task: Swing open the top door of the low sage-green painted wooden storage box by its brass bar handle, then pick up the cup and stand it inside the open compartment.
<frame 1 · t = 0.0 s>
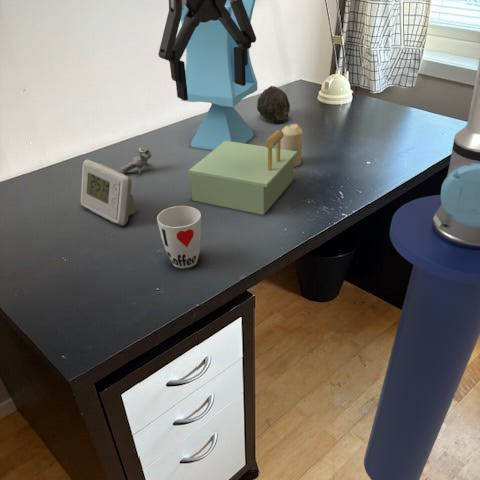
hand: (212, 91, 94), 25 cm above the dresser, tool pointing down, fingers open, 13 cm apart
chest: (243, 190, 117), on the dresser
planter: (222, 142, 141), on the dresser
rock: (274, 119, 154), on the dresser
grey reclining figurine: (140, 173, 126), on the dresser
cup: (185, 261, 95), on the dresser
digital clock: (110, 214, 110), on the dresser
candle: (290, 163, 128), on the dresser
lid: (244, 147, 109), point 11 cm above the dresser, hinge at 0.0°
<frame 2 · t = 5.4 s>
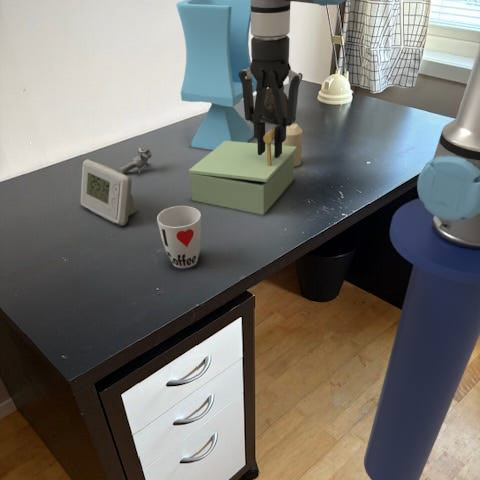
hand: (269, 153, 108), 10 cm above the dresser, tool pointing down, fingers open, 3 cm apart
lid: (243, 144, 109), point 11 cm above the dresser, hinge at 3.5°, touching gripper
everything else where it was.
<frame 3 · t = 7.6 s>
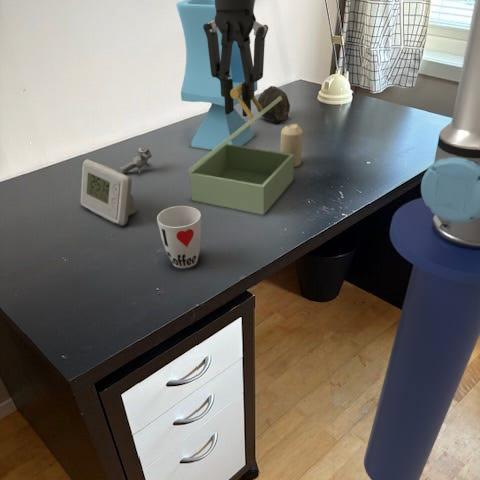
hand: (238, 113, 105), 18 cm above the dresser, tool pointing down, fingers open, 4 cm apart
lid: (225, 121, 107), point 16 cm above the dresser, hinge at 39.4°, touching gripper
everything else where it was.
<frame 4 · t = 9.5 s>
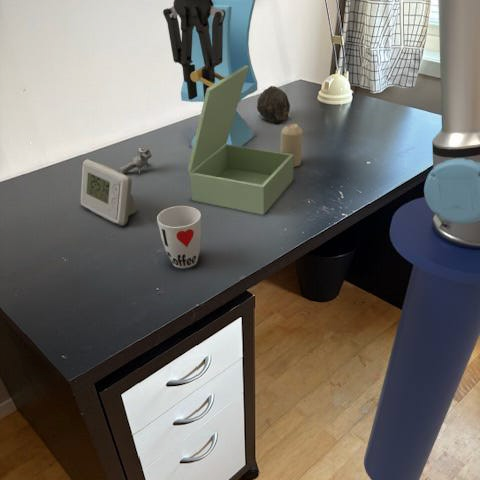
hand: (200, 98, 107), 20 cm above the dresser, tool pointing down, fingers open, 3 cm apart
lid: (204, 111, 108), point 18 cm above the dresser, hinge at 70.0°
everything else where it was.
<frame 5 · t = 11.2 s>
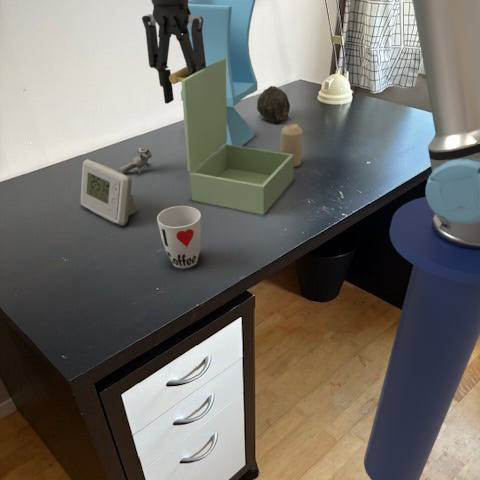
hand: (181, 102, 109), 19 cm above the dresser, tool pointing down, fingers open, 6 cm apart
lid: (193, 112, 110), point 17 cm above the dresser, hinge at 87.2°, touching gripper
everything else where it was.
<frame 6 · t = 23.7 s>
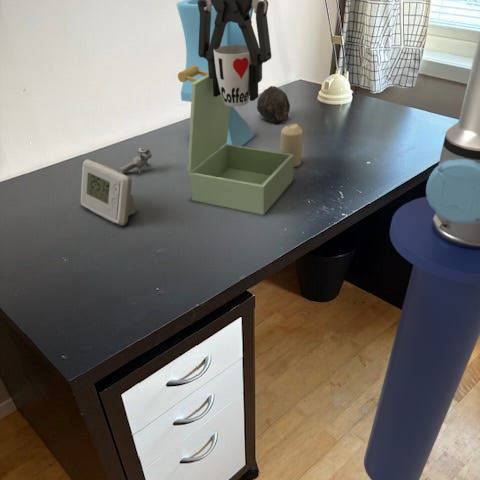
hand: (235, 96, 100), 23 cm above the dresser, tool pointing down, fingers closed on cup, 8 cm apart
cup: (236, 103, 101), point 21 cm above the dresser, touching gripper
lid: (198, 111, 109), point 17 cm above the dresser, hinge at 79.9°, touching gripper
everything else where it was.
when the fingers open (2 cm above the dresser, at t = 28.7 s): cup stays where it is, resting on chest.
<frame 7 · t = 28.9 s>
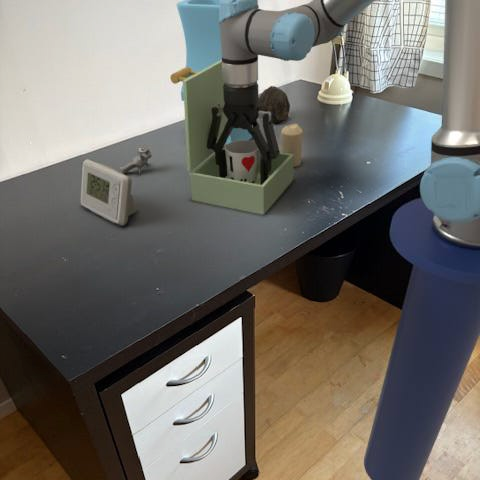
hand: (243, 181, 115), 2 cm above the dresser, tool pointing down, fingers open, 10 cm apart
cup: (243, 188, 116), point 1 cm above the dresser, touching chest
lid: (194, 112, 109), point 17 cm above the dresser, hinge at 86.2°, touching gripper, hand
everything else where it was.
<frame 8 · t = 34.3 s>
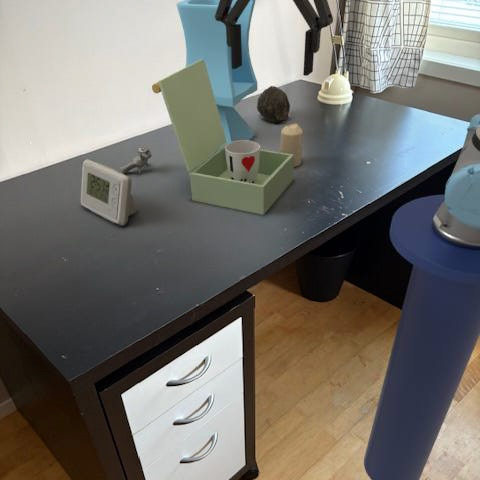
hand: (271, 70, 84), 31 cm above the dresser, tool pointing down, fingers open, 13 cm apart
lid: (183, 116, 111), point 16 cm above the dresser, hinge at 104.4°
everything else where it was.
at the end: lid at +104° (first picture: +0°); cup inside the target area in the chest (0.0 cm from its centre), point 0.6 cm above the chest's base; cup tilted 0° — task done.
